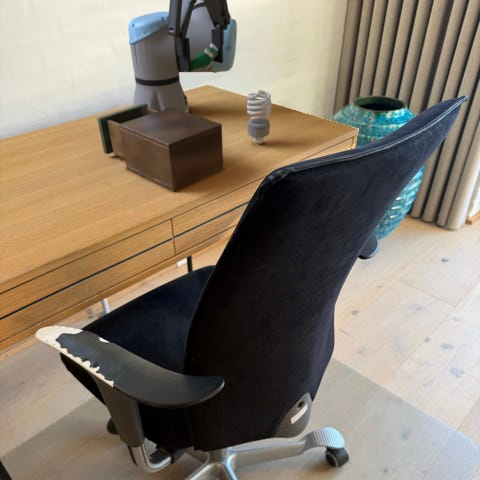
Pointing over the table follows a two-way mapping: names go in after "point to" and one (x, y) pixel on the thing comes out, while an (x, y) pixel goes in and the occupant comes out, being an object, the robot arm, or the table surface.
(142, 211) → the table surface
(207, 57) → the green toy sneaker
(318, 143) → the table surface
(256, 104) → the light bulb
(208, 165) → the cabinet
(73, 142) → the table surface
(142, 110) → the drawer
